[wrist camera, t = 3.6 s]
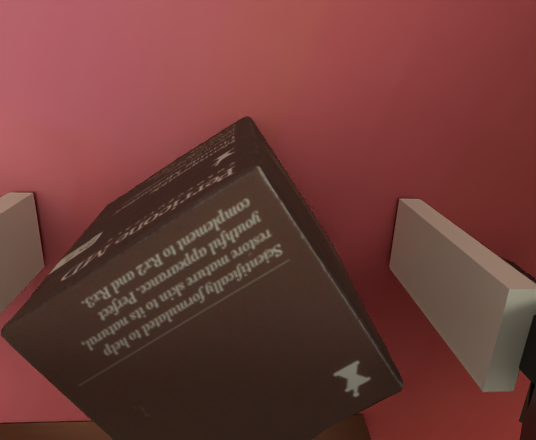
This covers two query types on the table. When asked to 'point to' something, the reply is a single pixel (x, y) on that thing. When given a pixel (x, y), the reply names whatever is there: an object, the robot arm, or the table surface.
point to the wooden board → (91, 436)
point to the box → (207, 308)
